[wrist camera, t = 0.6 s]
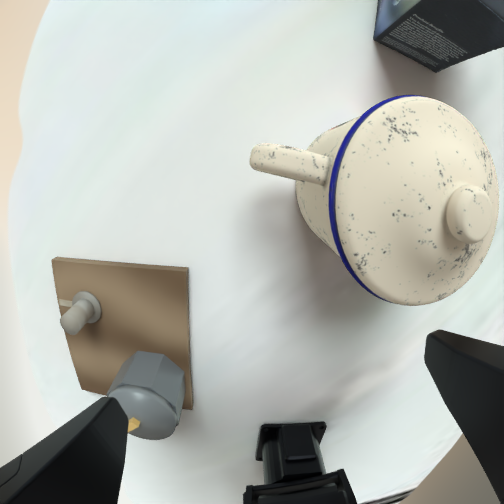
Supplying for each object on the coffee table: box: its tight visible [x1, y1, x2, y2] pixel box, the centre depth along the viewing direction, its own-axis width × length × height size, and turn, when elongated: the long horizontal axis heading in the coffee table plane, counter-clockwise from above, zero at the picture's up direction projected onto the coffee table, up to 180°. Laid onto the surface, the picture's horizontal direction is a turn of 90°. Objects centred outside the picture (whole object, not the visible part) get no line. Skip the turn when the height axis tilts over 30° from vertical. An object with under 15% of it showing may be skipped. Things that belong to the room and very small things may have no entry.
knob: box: [107, 351, 186, 440], centre depth 19 cm, size 5×5×5 cm
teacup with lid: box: [250, 95, 499, 306], centre depth 13 cm, size 12×9×12 cm
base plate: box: [52, 257, 193, 410], centre depth 19 cm, size 13×11×4 cm
